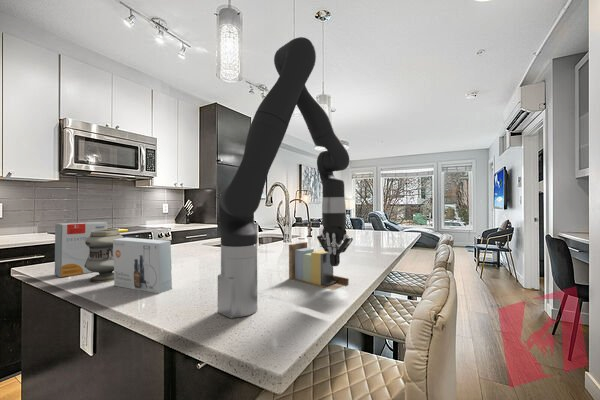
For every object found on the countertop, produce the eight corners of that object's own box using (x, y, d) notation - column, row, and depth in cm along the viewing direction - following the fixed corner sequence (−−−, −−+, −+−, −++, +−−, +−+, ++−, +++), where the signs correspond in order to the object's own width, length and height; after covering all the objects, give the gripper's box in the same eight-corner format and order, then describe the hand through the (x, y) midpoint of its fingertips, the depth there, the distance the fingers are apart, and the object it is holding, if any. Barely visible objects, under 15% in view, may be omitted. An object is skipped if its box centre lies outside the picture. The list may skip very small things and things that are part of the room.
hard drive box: (59, 278, 105) (59, 224, 105) (54, 275, 110) (53, 223, 110) (107, 270, 117) (107, 221, 117) (100, 267, 122) (100, 221, 122)
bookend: (327, 286, 89) (327, 255, 89) (320, 284, 91) (320, 253, 91) (337, 282, 93) (337, 252, 93) (330, 281, 95) (330, 251, 95)
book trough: (333, 293, 86) (333, 251, 86) (289, 281, 99) (288, 244, 99) (348, 287, 92) (348, 247, 92) (305, 277, 105) (304, 242, 105)
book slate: (303, 280, 96) (303, 251, 96) (294, 278, 99) (294, 249, 99) (313, 277, 100) (313, 249, 100) (305, 275, 103) (305, 247, 103)
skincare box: (112, 286, 95) (111, 239, 95) (127, 282, 100) (127, 237, 100) (158, 294, 87) (158, 242, 87) (172, 289, 92) (172, 240, 92)
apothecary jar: (76, 282, 100) (76, 231, 100) (106, 273, 112) (106, 227, 112) (104, 284, 97) (104, 231, 97) (132, 275, 109) (132, 228, 109)
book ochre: (320, 285, 91) (320, 253, 91) (311, 282, 94) (311, 252, 94) (330, 281, 95) (330, 251, 95) (321, 279, 98) (321, 250, 98)
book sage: (311, 282, 94) (311, 255, 94) (303, 280, 96) (303, 254, 96) (321, 279, 98) (321, 253, 98) (313, 277, 100) (313, 251, 100)
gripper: (358, 211, 89) (359, 266, 89) (324, 211, 98) (325, 261, 98) (344, 212, 84) (345, 271, 83) (310, 211, 93) (311, 265, 92)
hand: (334, 265), depth 91 cm, fingers closed
